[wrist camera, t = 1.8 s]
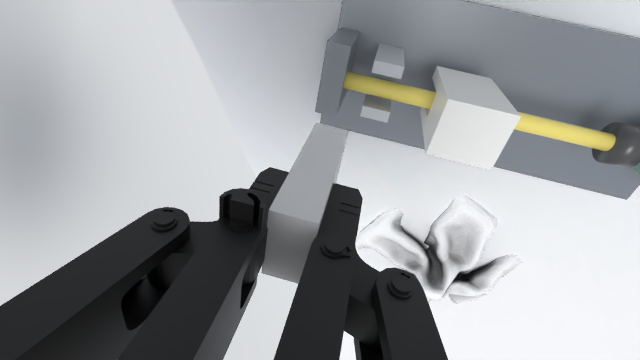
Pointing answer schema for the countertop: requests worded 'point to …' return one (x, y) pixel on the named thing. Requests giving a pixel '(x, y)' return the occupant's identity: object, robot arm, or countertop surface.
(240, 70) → the countertop surface
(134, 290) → the robot arm
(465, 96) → the white rectangular block
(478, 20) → the linear slide fixture
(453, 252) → the cloth
